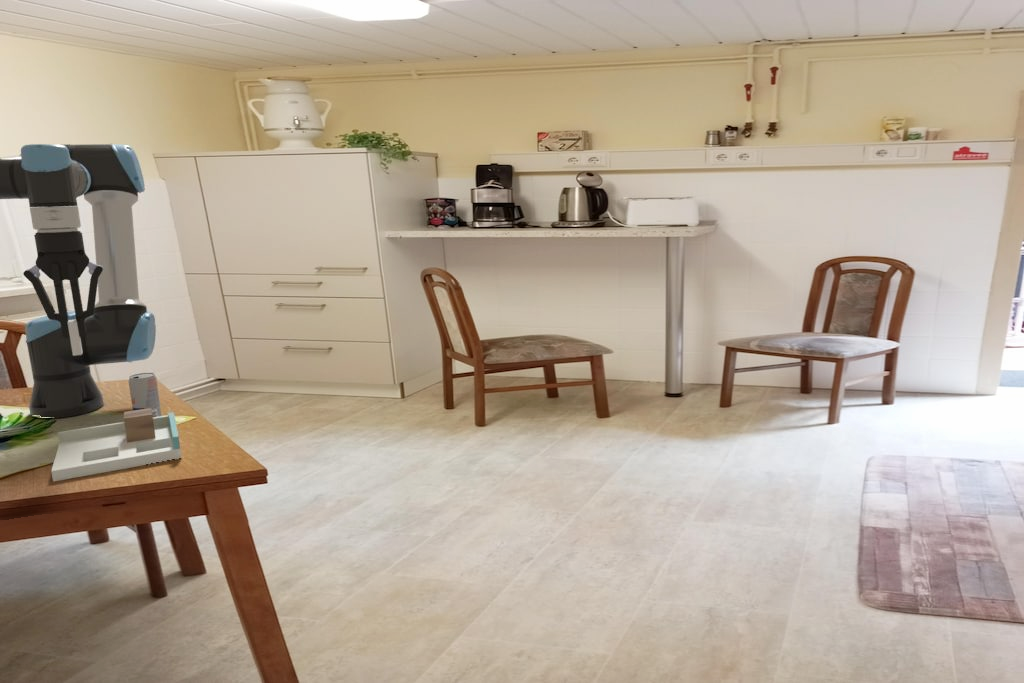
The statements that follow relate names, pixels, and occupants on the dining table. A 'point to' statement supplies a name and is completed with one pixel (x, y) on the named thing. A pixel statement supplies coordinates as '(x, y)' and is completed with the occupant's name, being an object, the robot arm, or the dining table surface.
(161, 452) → the board
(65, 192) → the robot arm
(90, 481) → the dining table surface
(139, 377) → the energy drink
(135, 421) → the walnut block
